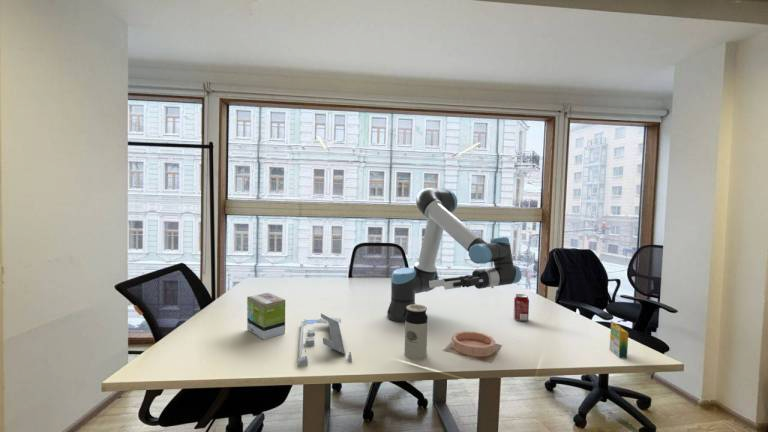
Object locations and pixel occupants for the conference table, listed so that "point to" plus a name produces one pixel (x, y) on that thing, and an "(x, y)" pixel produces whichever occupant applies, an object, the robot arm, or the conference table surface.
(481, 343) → the bowl
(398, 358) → the conference table surface
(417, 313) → the travel mug
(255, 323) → the tea box
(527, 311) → the soda can
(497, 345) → the cork mat
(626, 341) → the crayon box
